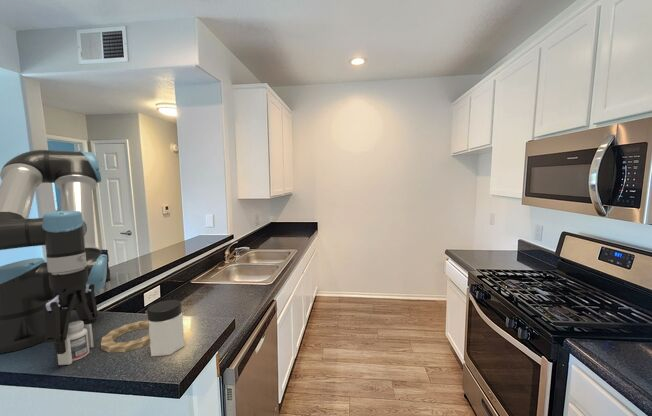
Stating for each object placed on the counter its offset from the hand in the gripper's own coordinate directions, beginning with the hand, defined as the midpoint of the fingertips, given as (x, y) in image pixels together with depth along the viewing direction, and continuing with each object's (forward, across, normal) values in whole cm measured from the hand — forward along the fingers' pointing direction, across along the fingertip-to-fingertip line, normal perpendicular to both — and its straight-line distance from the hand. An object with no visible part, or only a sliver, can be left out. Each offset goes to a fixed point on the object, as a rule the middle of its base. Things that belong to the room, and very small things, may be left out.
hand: (76, 355), depth 75 cm
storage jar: (0, +63, +38) cm, 74 cm away
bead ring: (0, +8, -10) cm, 13 cm away
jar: (+1, +1, -23) cm, 23 cm away
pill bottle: (0, 0, 0) cm, 0 cm away
